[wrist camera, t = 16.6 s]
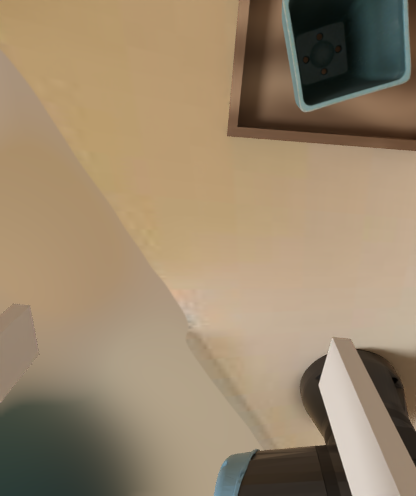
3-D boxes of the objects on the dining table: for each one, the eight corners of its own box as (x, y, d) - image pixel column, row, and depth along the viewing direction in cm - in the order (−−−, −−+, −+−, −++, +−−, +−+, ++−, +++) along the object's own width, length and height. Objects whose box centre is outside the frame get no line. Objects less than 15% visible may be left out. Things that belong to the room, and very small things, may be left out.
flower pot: (285, 113, 35) (301, 114, 27) (269, 22, 32) (281, -9, 23) (368, 88, 33) (412, 80, 25) (360, -11, 30) (407, -56, 22)
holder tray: (418, 148, 36) (436, 152, 33) (227, 133, 37) (227, 136, 34) (475, -28, 30) (504, -44, 27) (243, -40, 31) (244, -58, 27)
